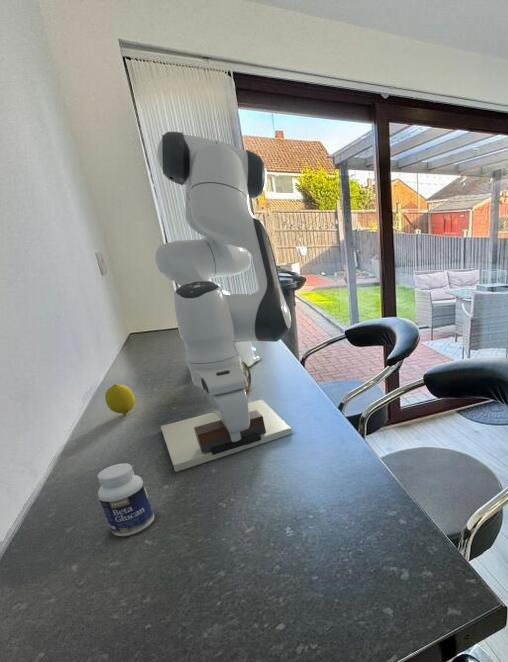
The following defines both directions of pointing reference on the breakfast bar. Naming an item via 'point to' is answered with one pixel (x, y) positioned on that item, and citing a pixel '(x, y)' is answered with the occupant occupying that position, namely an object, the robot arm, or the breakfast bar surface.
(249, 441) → the stroke
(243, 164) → the robot arm
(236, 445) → the stroke
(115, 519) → the pill bottle
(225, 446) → the stroke
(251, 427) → the eraser
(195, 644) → the breakfast bar surface
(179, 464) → the memo board
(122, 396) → the lemon
